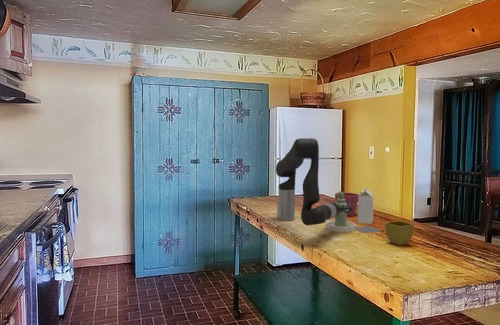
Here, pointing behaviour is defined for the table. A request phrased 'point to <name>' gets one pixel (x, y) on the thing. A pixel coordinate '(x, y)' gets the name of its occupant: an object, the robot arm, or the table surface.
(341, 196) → the olive bottle
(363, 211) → the milk carton
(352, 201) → the plant pot
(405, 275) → the table surface
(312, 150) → the robot arm
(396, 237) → the flower pot
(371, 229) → the mat
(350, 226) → the bowl
